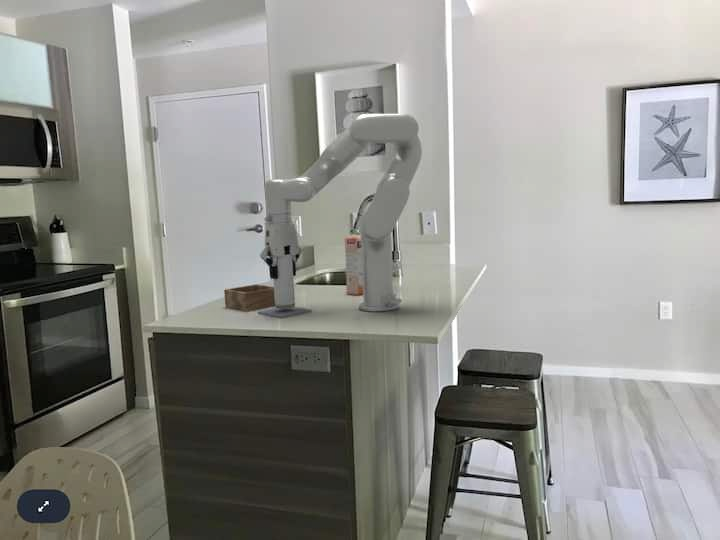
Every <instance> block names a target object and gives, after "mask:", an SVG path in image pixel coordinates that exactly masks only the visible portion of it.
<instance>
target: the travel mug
mask: <svg viewBox="0 0 720 540" xmlns="http://www.w3.org/2000/svg"><path fill="white" fill-rule="evenodd" d="M283 248H284V252H285V253H284V256H282V257H278V258H277V261H276V265H275V266H277V269H278V279H272V281H273V287H274V297H275V306H274V308H279V309H285V308H292V307H294V306H295V307H296V302H295V301H296V300H295V299H296V298H295V284H294V283H295V282H294V276H293V263H292V255H291V254H290V252H289V251H290V245H288V246H284V247H283ZM272 256H273V255H272Z"/></svg>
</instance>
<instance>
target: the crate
mask: <svg viewBox="0 0 720 540" xmlns="http://www.w3.org/2000/svg"><path fill="white" fill-rule="evenodd" d="M224 303H225V308H227V307H229V308H228V309H232V308H233V309H232V310H236V311H238V310H239V311H242V312H246V313H248V312H252V311H253V312H254V311H257V310H262V309H266V308H268V309H269V308H272V307H273V308H274V307H275V297H274V286H270V285H263V284H259V283H258V284H257V283H256V284H250V285H245V286H238V287H233V288H231V287H230V288H225V289H224Z"/></svg>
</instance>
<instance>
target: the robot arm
mask: <svg viewBox="0 0 720 540" xmlns="http://www.w3.org/2000/svg"><path fill="white" fill-rule="evenodd" d="M418 123H419V122H418V121H417V120H416V119H415V117H413V115H410V114H408V113H363V114H359V115H357V116H356V117H355V118H354V119H353V120H352V123H351V124H350V125H349V126H348V127H346V128H345V129H344V130H343V132H341V133H340V134H339V135H338V136H337V138H335V139H334V140H333V141H332V142H331V143H330V144H328V145H327V146H326V148H325V149H324V150H323V152H322V153H321V154H320V156H319V157H318V159H317V160H316V161H315V162H314V163H313V164H312V166H310V167H309V168H308V169H307V170H306V171H305V172H304V173H303V174H302V175H301V176H300V177H297V178H296V177H295V178H289V179H284V178H278V179H277V178H276V179H268V180H266V181H265V183H264V184H265V185H264V191H265V205H266V207H265V208H266V216H265V217H264V218H263V219H264V222H267V224H266V225H265V230H264V231H265V233H264V248H263V249H262V251H261V252H260V254H259V257H260V258H261V259H262V260H263V261H264V263H265V264H266V265H267V266H268V268H269V269H268V270H269V277H270V279H271V280H273V279H278V269H277V266H275V265H276V261H277V258H278V257H282V256H284V253H285V252H284V248H283V247H284V246H288V245H290V251H289V252H290V254H291V255H292V263H293V277H296V276H297V273H296V272H297V267H296V264H297V263H298V259H299V258H300V255H301V254H302V253H303V249H302V248H301V247H300V245H299V240H298V232H297V228H296V225H295V223H293V218H292V217H293V216H292V204H291V203H293V202H296V203H306V202H309V201H310V200H312V199H313V198H314V197H316V195H317V194H319V193H320V192H321V191H322V190H323V189H324V188H325V187H326V186H327V185H328V184H329V183H330V182H332V180H333V179H334V178H336V177H337V176H338V175H340V174H341V173H343V171H345V170H346V169H347V168H348V167H349V166H350V165H351V164H352V163H353V162H354V161H355V160H356V159H357V158H358V157H359V156H360V155H361V154H362V153H363V152H364V151H365V150H366V149H368V148H369V147H370V146H371V145H372V144H392V145H393V148H394V152H393V154H392V156H391V157H392V158H391V160H390V161H389V164H388V166H387V169H386V170H385V172H384V174H383V176H382V178H381V180H380V181H379V182H378V184H377V186H376V191H375V194H374V195H373V197H372V199H371V202H370V204H369V205H368V208H367V209H366V210H365V211H364V212H363V213H362V215H361V217H360V220H359V230H360V231H359V233H360V234H359V235H361V251H362V275H363V294H362V295H363V302H360V303H359V304H358V309H359V310H360V311H364V312H386V311H393V310H396V309H398V308H399V305H400V304H402V299H401V298H398V297H397V295H396V293H394V280H393V279H394V276H393V246H392V234H391V233H392V232H393V230H394V229H395V227H396V225H397V223H398V221H399V219H400V217H401V215H402V213H403V211H404V209H405V207H406V205H407V203H408V201H409V198H410V192H411V191H410V185H411V184H412V181H413V180H414V177H415V175H416V172H417V171H418V168H419V166H420V163H421V161H422V154H423V153H422V152H423V151H422V149H423V148H422V144H421V143H422V142H421V140H420V137H419V135H418V134H419V124H418ZM272 255H273V256H272Z"/></svg>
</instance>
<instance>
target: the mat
mask: <svg viewBox="0 0 720 540" xmlns="http://www.w3.org/2000/svg"><path fill="white" fill-rule="evenodd" d="M312 310H313V309H310V308H306V307H300V306H296V305H295V306H294V307H292V308H285V309H279V308H276V307H273V308H270V309H269V308H268V309H266V310H259V311H257V314H258V315H264V316H268V317H273V318H277V319H278V318H279V319H284V318H288V317H292V316H297V315H302V314H307V313H311V312H313V311H312Z"/></svg>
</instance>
